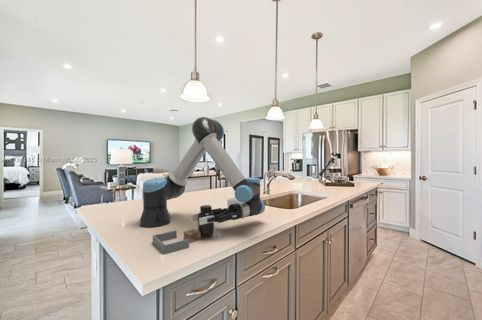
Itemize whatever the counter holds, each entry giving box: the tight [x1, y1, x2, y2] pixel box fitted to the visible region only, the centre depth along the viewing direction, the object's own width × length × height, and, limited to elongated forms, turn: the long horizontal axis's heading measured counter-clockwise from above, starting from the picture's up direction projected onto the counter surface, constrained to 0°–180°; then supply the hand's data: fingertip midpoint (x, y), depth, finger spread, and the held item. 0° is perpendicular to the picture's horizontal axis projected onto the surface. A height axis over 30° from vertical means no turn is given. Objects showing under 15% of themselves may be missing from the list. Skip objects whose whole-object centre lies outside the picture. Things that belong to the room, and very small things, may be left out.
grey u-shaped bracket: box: [152, 230, 190, 255], centre depth 87 cm, size 10×14×3 cm
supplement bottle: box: [197, 204, 215, 237], centre depth 96 cm, size 7×7×12 cm
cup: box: [226, 196, 241, 209], centre depth 131 cm, size 8×12×10 cm
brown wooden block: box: [183, 228, 202, 244], centre depth 93 cm, size 5×5×4 cm
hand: (195, 219), depth 93 cm, fingers closed on supplement bottle, 7 cm apart
